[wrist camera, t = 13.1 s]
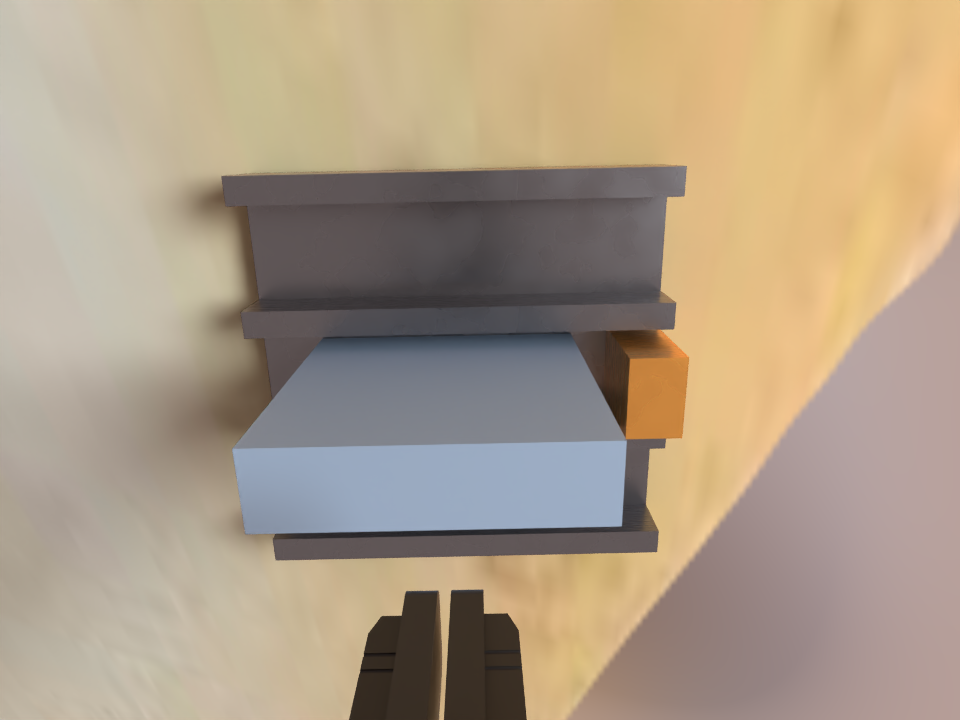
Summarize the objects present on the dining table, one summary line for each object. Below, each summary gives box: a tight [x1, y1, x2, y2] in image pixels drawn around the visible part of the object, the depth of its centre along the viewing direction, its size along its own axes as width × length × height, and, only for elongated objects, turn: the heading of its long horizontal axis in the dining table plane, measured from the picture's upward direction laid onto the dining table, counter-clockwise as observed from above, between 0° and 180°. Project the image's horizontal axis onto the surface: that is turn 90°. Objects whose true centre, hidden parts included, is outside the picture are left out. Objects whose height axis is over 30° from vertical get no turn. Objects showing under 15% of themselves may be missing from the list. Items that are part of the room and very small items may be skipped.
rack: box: [221, 165, 689, 560], centre depth 29 cm, size 19×18×6 cm
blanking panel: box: [232, 334, 627, 534], centre depth 26 cm, size 12×3×12 cm, turn 91°
